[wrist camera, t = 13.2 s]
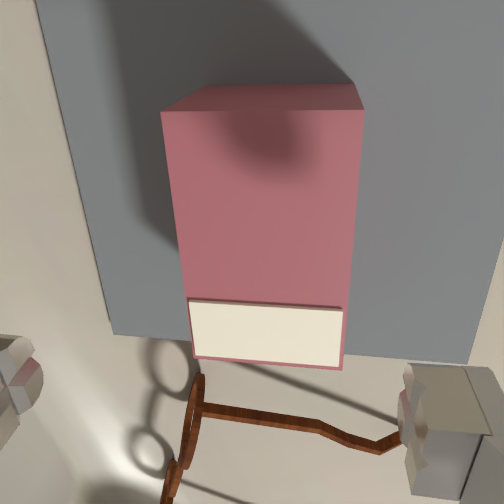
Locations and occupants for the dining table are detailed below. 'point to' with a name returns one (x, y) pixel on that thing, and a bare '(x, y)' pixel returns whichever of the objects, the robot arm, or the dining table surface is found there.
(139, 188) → the gray mat
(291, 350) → the card box
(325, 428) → the glasses
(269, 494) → the dining table surface
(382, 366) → the dining table surface
